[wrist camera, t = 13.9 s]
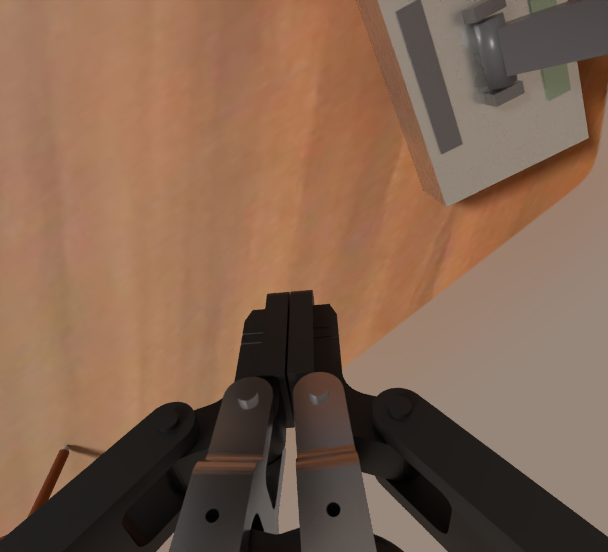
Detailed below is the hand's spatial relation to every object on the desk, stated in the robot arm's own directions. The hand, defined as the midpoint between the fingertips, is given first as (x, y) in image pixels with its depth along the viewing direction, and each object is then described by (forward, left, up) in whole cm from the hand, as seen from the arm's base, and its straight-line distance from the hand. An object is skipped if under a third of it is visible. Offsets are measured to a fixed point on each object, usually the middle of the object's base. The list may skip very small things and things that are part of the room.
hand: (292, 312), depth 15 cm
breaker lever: (+1, +20, -25) cm, 32 cm away
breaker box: (+1, +20, -31) cm, 37 cm away
